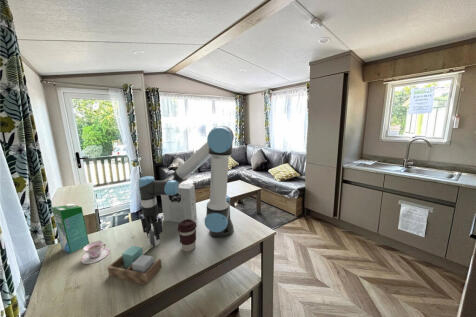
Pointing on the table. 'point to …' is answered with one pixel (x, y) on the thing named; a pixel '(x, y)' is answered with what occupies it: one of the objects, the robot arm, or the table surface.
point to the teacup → (94, 252)
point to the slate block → (142, 263)
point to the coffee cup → (187, 234)
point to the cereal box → (180, 204)
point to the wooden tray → (133, 272)
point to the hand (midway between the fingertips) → (154, 243)
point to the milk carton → (70, 227)
